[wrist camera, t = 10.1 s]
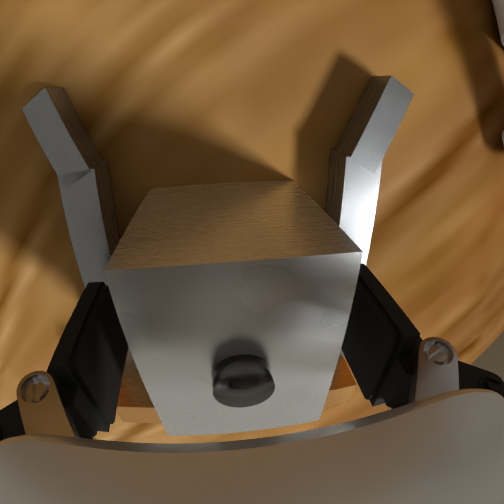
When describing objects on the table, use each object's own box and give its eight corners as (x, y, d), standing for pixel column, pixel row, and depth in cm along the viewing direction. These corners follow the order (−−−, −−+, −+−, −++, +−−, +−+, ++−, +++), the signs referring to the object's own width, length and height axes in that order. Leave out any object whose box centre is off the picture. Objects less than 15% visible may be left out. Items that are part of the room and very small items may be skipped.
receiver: (41, 94, 8) (-12, 99, 5) (393, 81, 10) (449, 83, 7) (111, 371, 15) (101, 420, 12) (348, 351, 17) (370, 396, 14)
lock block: (150, 188, 11) (95, 287, 5) (292, 179, 12) (375, 265, 6) (174, 327, 14) (168, 449, 8) (285, 318, 15) (323, 432, 9)
